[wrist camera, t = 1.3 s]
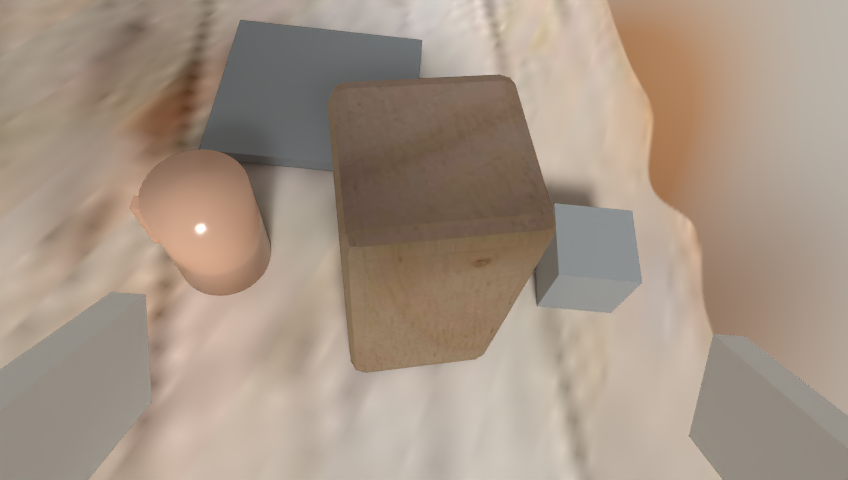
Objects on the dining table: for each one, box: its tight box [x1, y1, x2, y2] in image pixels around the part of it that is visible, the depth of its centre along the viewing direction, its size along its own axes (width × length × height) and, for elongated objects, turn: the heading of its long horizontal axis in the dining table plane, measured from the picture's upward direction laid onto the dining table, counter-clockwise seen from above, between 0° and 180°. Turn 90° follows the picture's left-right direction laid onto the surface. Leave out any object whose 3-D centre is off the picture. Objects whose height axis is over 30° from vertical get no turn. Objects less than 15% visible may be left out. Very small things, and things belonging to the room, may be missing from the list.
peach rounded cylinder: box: [130, 149, 271, 296], centre depth 41 cm, size 8×7×9 cm
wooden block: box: [327, 75, 556, 373], centre depth 35 cm, size 10×10×20 cm
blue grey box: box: [536, 203, 642, 313], centre depth 44 cm, size 6×6×6 cm
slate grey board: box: [199, 20, 422, 171], centre depth 53 cm, size 18×16×1 cm
